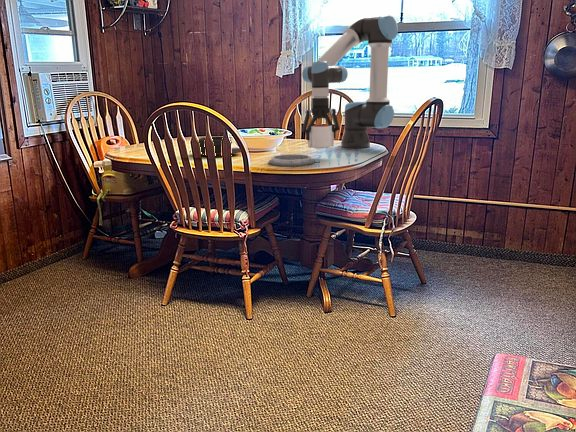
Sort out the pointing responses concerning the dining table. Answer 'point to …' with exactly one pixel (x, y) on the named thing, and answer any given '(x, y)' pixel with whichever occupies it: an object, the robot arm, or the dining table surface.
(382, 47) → the robot arm
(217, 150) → the casserole
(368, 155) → the dining table surface
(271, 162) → the ring collar
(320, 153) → the dining table surface
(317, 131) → the cup
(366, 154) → the dining table surface
